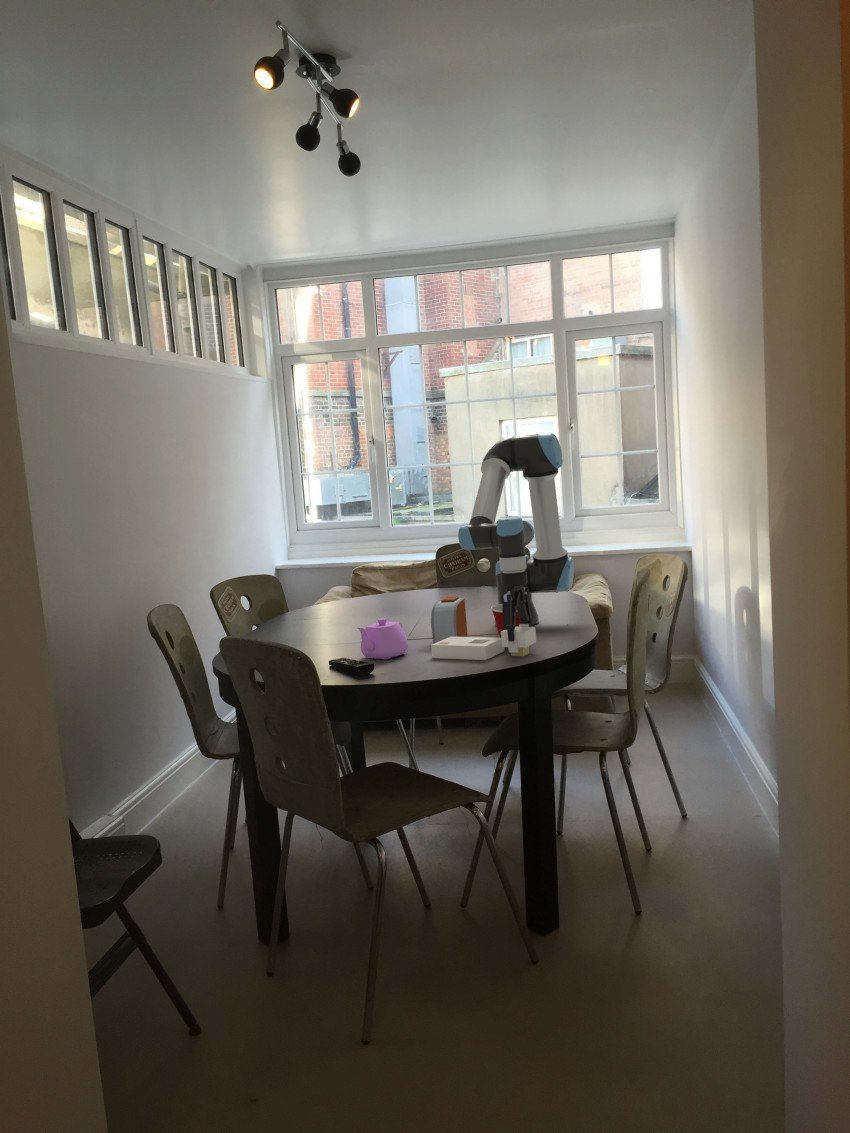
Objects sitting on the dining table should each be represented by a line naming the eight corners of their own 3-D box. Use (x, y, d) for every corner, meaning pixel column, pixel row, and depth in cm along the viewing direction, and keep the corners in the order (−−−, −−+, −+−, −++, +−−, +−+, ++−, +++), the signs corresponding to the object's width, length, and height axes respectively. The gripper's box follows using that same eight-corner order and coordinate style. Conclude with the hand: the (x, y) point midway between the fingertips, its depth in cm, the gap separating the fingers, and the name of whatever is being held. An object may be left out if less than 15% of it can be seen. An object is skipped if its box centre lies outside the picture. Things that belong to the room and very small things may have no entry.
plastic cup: (510, 649, 268) (506, 610, 267) (486, 645, 277) (483, 607, 275) (536, 642, 274) (533, 604, 273) (512, 639, 283) (509, 602, 282)
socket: (451, 649, 276) (450, 636, 276) (504, 650, 267) (503, 637, 266) (432, 658, 266) (431, 644, 266) (486, 659, 257) (485, 646, 256)
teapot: (387, 649, 286) (384, 612, 285) (420, 651, 278) (416, 614, 276) (345, 663, 270) (341, 624, 269) (378, 666, 262) (374, 626, 261)
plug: (513, 651, 265) (511, 626, 264) (537, 652, 261) (535, 626, 260) (502, 657, 259) (500, 631, 258) (526, 657, 255) (524, 632, 254)
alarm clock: (444, 636, 298) (440, 596, 297) (469, 635, 296) (465, 595, 294) (432, 646, 284) (428, 604, 283) (458, 645, 282) (454, 602, 280)
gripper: (516, 566, 268) (522, 641, 270) (485, 576, 251) (492, 656, 253) (539, 565, 264) (545, 641, 266) (510, 576, 247) (516, 657, 249)
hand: (519, 648), depth 260 cm, fingers closed on plug, 7 cm apart
